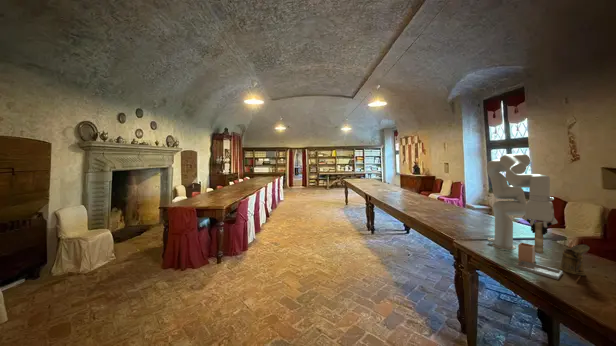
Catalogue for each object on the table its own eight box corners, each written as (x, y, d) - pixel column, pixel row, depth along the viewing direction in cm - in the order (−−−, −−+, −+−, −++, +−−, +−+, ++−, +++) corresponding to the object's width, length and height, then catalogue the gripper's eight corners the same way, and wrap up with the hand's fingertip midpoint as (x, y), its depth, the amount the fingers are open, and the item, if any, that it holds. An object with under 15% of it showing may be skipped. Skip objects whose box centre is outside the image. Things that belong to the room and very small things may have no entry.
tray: (515, 268, 125) (515, 264, 125) (521, 264, 130) (521, 260, 130) (558, 281, 111) (558, 276, 111) (562, 275, 117) (562, 270, 117)
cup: (518, 261, 133) (518, 244, 133) (521, 259, 137) (521, 242, 136) (532, 265, 128) (532, 247, 128) (535, 262, 131) (535, 245, 131)
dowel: (535, 250, 122) (535, 221, 122) (544, 252, 120) (544, 222, 119) (533, 252, 120) (534, 222, 120) (542, 254, 118) (542, 223, 117)
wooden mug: (570, 278, 114) (570, 242, 113) (555, 266, 126) (555, 234, 125) (595, 281, 110) (596, 245, 109) (578, 269, 122) (578, 236, 121)
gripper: (564, 199, 114) (563, 235, 115) (520, 196, 128) (520, 228, 129) (560, 201, 110) (560, 238, 111) (516, 197, 124) (516, 231, 125)
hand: (539, 233), depth 120 cm, fingers closed on dowel, 3 cm apart
